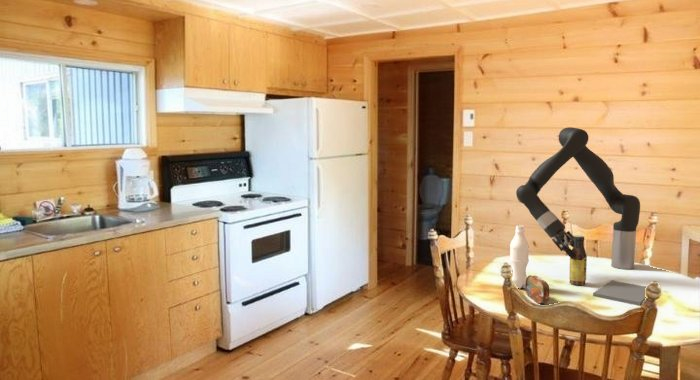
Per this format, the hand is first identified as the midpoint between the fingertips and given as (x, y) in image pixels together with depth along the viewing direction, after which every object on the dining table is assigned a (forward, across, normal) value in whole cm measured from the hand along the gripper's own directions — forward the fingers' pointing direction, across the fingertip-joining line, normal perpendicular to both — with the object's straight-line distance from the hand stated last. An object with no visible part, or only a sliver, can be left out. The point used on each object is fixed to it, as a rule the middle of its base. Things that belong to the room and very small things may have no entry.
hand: (577, 255), depth 209 cm
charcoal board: (+21, -1, -5) cm, 22 cm away
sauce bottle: (+9, 0, +8) cm, 12 cm away
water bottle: (-2, -20, +20) cm, 28 cm away
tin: (+6, -30, +11) cm, 33 cm away
